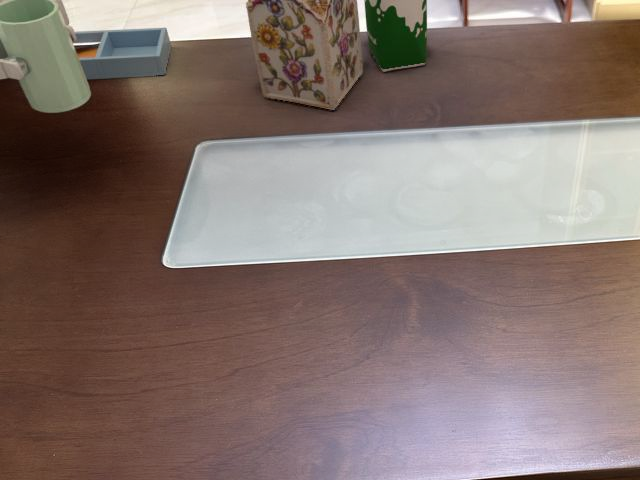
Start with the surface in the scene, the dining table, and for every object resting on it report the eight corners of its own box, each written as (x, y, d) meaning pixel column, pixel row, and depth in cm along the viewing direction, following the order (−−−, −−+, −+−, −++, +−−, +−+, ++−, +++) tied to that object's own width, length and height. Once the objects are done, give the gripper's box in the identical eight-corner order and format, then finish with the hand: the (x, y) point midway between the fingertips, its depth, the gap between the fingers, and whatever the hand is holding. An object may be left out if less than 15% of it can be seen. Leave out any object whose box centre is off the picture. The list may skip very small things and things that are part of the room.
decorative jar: (335, 113, 103) (319, -17, 90) (261, 99, 105) (234, -31, 92) (365, 74, 111) (355, -52, 97) (296, 61, 113) (276, -64, 99)
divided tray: (41, 82, 107) (32, 62, 104) (54, 52, 113) (46, 32, 110) (165, 75, 109) (159, 55, 107) (171, 46, 115) (166, 27, 113)
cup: (39, 119, 80) (-2, 29, 73) (22, 93, 84) (-18, 5, 76) (99, 102, 83) (66, 14, 75) (80, 77, 86) (47, -9, 79)
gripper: (-152, 45, 72) (-35, 68, 70) (-9, -32, 85) (94, -14, 83) (-116, 103, 77) (-5, 126, 75) (14, 22, 90) (112, 40, 88)
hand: (48, 52), depth 79 cm, fingers closed on cup, 7 cm apart
